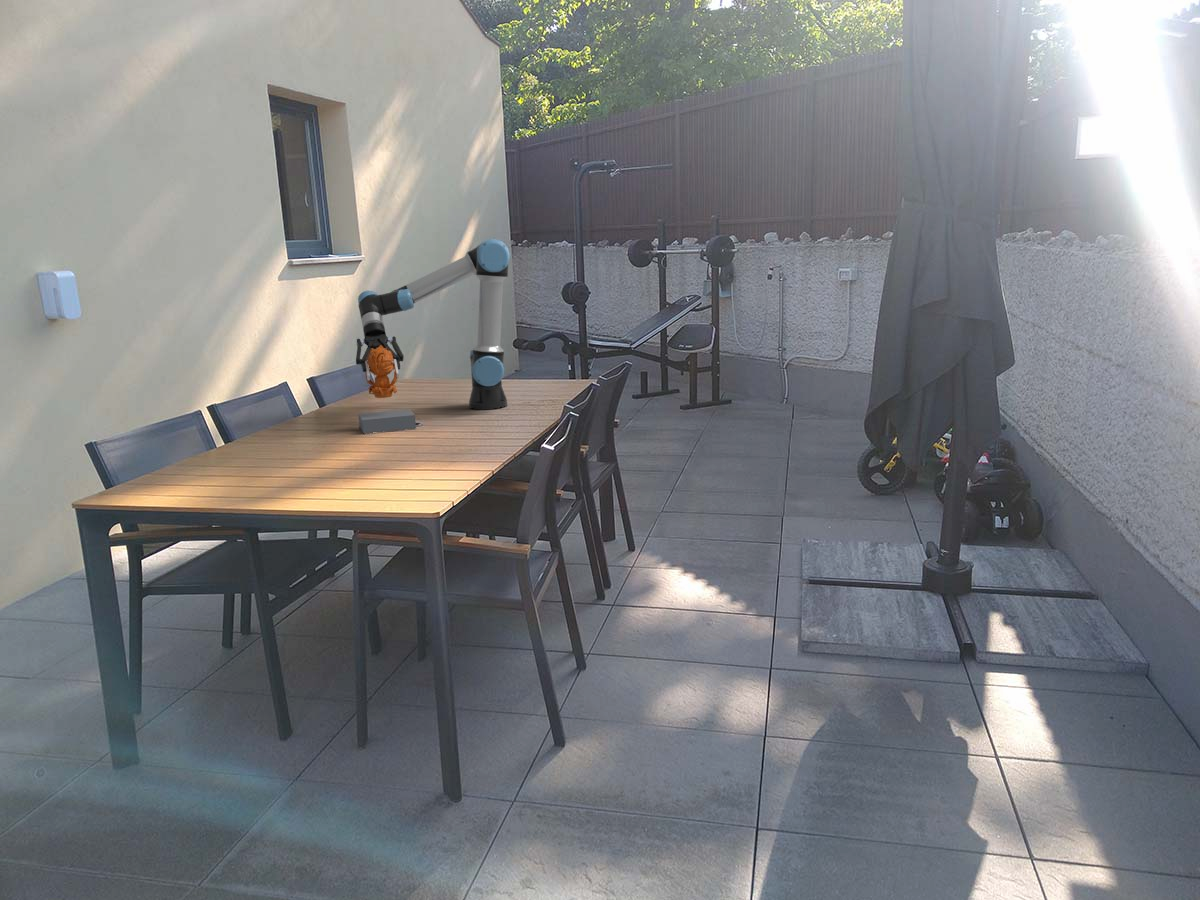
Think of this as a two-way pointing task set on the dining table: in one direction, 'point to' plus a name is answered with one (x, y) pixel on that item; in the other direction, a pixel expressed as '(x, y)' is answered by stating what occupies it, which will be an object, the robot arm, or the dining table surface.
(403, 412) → the base brick
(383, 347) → the robot arm
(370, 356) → the orange upright figure
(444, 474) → the dining table surface
